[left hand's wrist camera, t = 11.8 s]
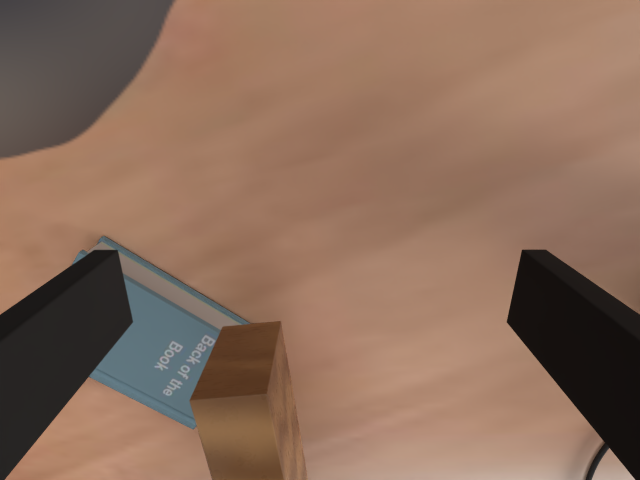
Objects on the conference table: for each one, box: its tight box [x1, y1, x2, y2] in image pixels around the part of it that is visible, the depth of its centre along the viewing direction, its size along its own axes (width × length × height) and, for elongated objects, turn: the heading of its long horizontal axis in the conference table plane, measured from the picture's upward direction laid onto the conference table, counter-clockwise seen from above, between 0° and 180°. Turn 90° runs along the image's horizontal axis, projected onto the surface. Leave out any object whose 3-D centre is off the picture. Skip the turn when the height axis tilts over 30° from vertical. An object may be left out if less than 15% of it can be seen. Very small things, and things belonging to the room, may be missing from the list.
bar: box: [189, 321, 308, 480], centre depth 34 cm, size 23×5×9 cm, turn 6°
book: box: [72, 236, 250, 429], centre depth 48 cm, size 23×16×5 cm
